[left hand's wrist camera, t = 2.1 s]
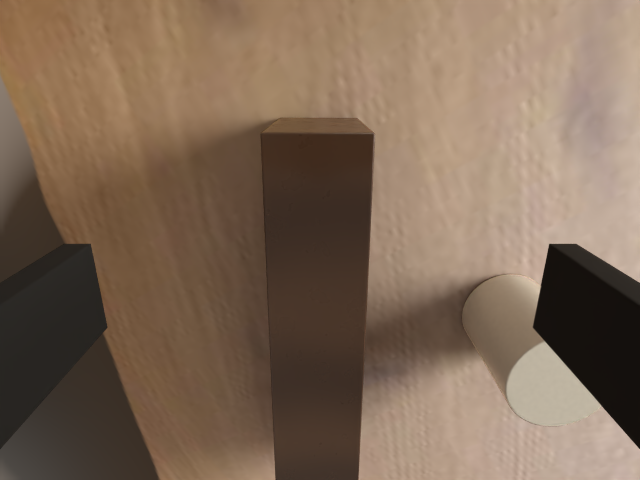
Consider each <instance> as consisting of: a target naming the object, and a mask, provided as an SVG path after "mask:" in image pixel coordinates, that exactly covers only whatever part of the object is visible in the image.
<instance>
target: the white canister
mask: <svg viewBox="0 0 640 480" xmlns="http://www.w3.org/2000/svg"><path fill="white" fill-rule="evenodd" d="M540 288H541V286H540V285H539V284H538V283H537V282H536V281H534V280H533V279H531V278H529V277H526V276H523V275H517V274H505V275H500V276H496V277H493V278H491V279H488V280H487V281H485V282H483V283H482V284H480V285H479V286H478V287H477V288H475V289H474V290H473V292H472V293H471V294H470V295H469V297H468V298H467V300H466V302H465V304H464V307H463V311H462V323H463V327H464V330H465V332H466V333H467V335H468V337H469V338H470V340H471V342H472V344H473V345H474V347H475V349H476V350H477V352H478V354H479V355H480V357H481V359H482V361H483V362H484V364H485V366H486V367H487V369H488V371H489V372H490V374H491V376H492V377H493V379H494V381H495V383H496V384H497V386H498V388H499V389H500V391H501V393H502V394H503V396H504V398H505V399H506V401H507V403H508V405H509V406H510V408H511V409H512V410H513V412H514V413H515V414H517V415H518V416H519V417H520V418H522V419H524V420H525V421H527V422H530V423H532V424H536V425H540V426H563V425H568V424H572V423H575V422H578V421H580V420H582V419H585V418H587V417H588V416H590V415H592V414H593V413H595V412H596V411H597V410H599V409H600V408H601V407H602V406H601V405H600V403H599V402H598V401H597V400H596V399H595V398H594V397H593V395H592V394H591V393H590V392H589V391H588V390H587V389H586V388H585V386H584V385H583V384H582V383H581V382H580V381H579V380H578V378H577V377H576V376H575V375H574V374H573V373H572V372H571V371H570V369H569V368H568V367H567V366H566V365H565V364H564V363H563V361H562V360H561V359H560V358H559V357H558V356H557V355H556V353H555V352H554V351H553V350H552V349H551V348H550V347H549V346H548V344H547V343H546V342H545V341H544V340H543V339H542V338H541V336H540V335H539V334H538V333H537V332H536V331H535V330H534V329H533V323H534V318H535V313H536V308H537V303H538V298H539V293H540Z"/></svg>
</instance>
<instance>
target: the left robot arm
mask: <svg viewBox="0 0 640 480" xmlns="http://www.w3.org/2000/svg"><path fill="white" fill-rule="evenodd" d="M106 329H107V323H106V318H105V313H104V308H103V303H102V298H101V293H100V288H99V283H98V278H97V273H96V268H95V263H94V258H93V253H92V248H91V244H63V245H61V246H60V247H58V248H56V249H55V250H53V251H52V252H50V253H48V254H47V255H45V256H43V257H42V258H40V259H39V260H37V261H35V262H34V263H32V264H30V265H29V266H27V267H26V268H24V269H22V270H21V271H19V272H17V273H16V274H14V275H12V276H11V277H9V278H8V279H6V280H4V281H3V282H1V283H0V449H1V448H2V446H3V445H4V444H5V443H6V442H7V441H8V440H9V438H10V437H11V436H12V435H13V434H14V433H15V432H16V431H17V429H18V428H19V427H20V426H21V425H22V424H23V423H24V422H25V420H26V419H27V418H28V417H29V416H30V415H31V414H32V412H33V411H34V410H35V409H36V408H37V407H38V406H39V404H40V403H41V402H42V401H43V400H44V399H45V398H46V397H47V395H48V394H49V393H50V392H51V391H52V390H53V389H54V387H55V386H56V385H57V384H58V383H59V382H60V381H61V380H62V378H63V377H64V376H65V375H66V374H67V373H68V372H69V370H70V369H71V368H72V367H73V366H74V365H75V364H76V362H77V361H78V360H79V359H80V358H81V357H82V356H83V355H84V353H85V352H86V351H87V350H88V349H89V348H90V347H91V346H92V344H93V343H94V342H95V341H96V340H97V339H98V338H99V336H100V335H101V334H102V333H103V332H104V331H105V330H106ZM533 329H534V330H535V331H536V332H537V333H538V334H539V335H540V336H541V338H542V339H543V340H544V341H545V342H546V343H547V344H548V346H549V347H550V348H551V349H552V350H553V351H554V352H555V353H556V355H557V356H558V357H559V358H560V359H561V360H562V361H563V363H564V364H565V365H566V366H567V367H568V368H569V369H570V371H571V372H572V373H573V374H574V375H575V376H576V377H577V378H578V380H579V381H580V382H581V383H582V384H583V385H584V386H585V388H586V389H587V390H588V391H589V392H590V393H591V394H592V395H593V397H594V398H595V399H596V400H597V401H598V402H599V403H600V405H601V406H602V407H603V408H604V409H605V410H606V411H607V412H608V414H609V415H610V416H611V417H612V418H613V419H614V420H615V422H616V423H617V424H618V425H619V426H620V427H621V428H622V429H623V431H624V432H625V433H626V434H627V435H628V436H629V437H630V439H631V440H632V441H633V442H634V443H635V444H636V445H637V446H638V448H639V449H640V283H639V282H637V281H636V280H634V279H632V278H631V277H629V276H628V275H626V274H624V273H623V272H621V271H619V270H618V269H616V268H615V267H613V266H611V265H610V264H608V263H606V262H605V261H603V260H601V259H600V258H598V257H597V256H595V255H593V254H592V253H590V252H588V251H587V250H585V249H584V248H582V247H580V246H579V245H577V244H549V248H548V253H547V258H546V263H545V268H544V273H543V278H542V283H541V288H540V293H539V298H538V303H537V308H536V313H535V318H534V323H533Z"/></svg>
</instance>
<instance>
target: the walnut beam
mask: <svg viewBox="0 0 640 480" xmlns="http://www.w3.org/2000/svg"><path fill="white" fill-rule="evenodd" d="M374 146H375V133H374V132H372V131H371V130H370V129H369V128H368V127H367V126H366V125H364V124H363V123H362V122H361V121H360V120H359V119H357V118H279V119H278V120H277V121H275V122H274V123H273V124H272V125H270V126H269V127H268V128H267V129H265V130H264V131H263V132H261V156H262V179H263V202H264V225H265V248H266V271H267V294H268V317H269V340H270V363H271V386H272V409H273V432H274V455H275V478H276V480H358V476H359V456H360V435H361V414H362V394H363V373H364V353H365V332H366V311H367V291H368V270H369V249H370V229H371V208H372V187H373V167H374Z"/></svg>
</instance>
